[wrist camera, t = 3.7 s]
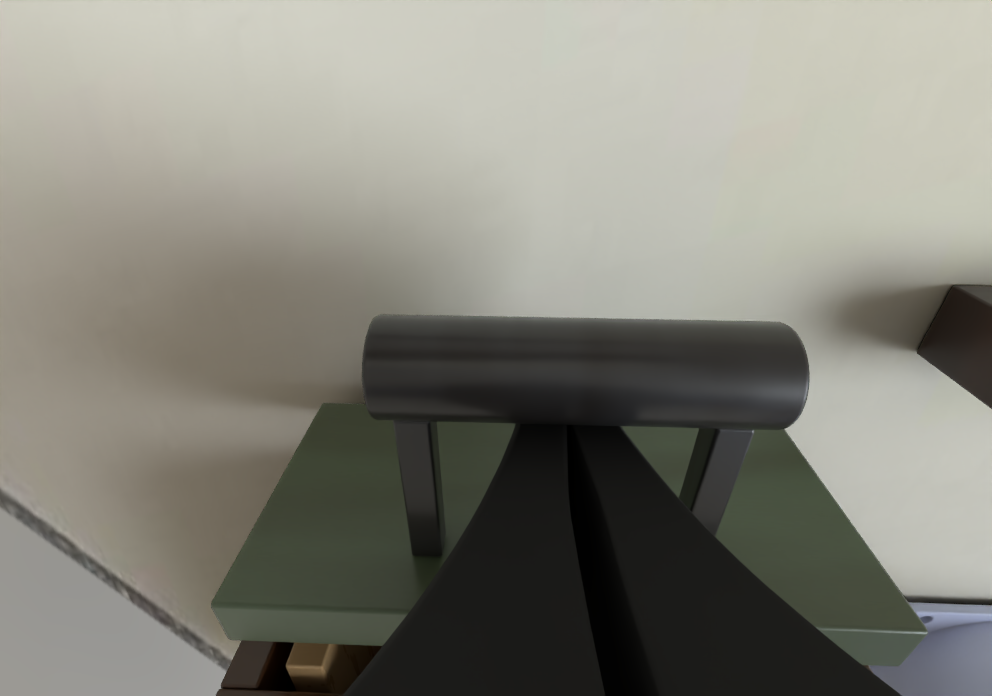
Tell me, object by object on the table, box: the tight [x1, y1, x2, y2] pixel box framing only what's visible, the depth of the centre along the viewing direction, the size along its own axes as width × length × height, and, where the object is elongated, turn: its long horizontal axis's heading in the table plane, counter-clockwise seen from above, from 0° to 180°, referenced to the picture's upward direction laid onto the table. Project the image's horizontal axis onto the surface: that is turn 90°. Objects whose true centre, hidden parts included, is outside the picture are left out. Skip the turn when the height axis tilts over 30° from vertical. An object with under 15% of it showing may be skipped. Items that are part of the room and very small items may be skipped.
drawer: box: [211, 314, 928, 694], centre depth 13 cm, size 18×12×6 cm
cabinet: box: [216, 640, 873, 696], centre depth 16 cm, size 14×14×8 cm
